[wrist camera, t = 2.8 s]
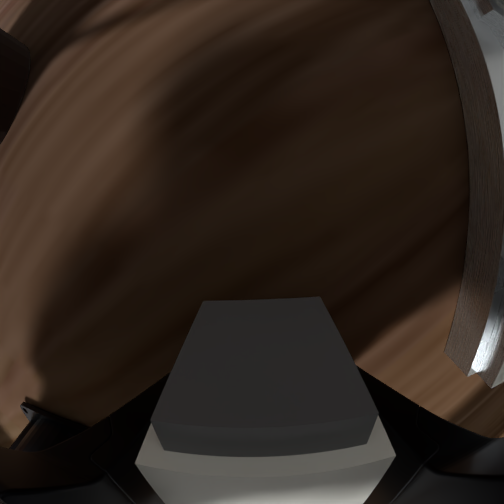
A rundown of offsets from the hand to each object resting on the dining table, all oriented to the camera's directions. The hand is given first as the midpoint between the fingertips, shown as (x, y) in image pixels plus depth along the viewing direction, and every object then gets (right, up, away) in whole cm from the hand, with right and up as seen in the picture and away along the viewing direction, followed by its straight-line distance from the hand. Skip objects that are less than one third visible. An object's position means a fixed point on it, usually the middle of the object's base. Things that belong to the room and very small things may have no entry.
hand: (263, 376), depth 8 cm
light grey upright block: (0, 0, +1) cm, 1 cm away
